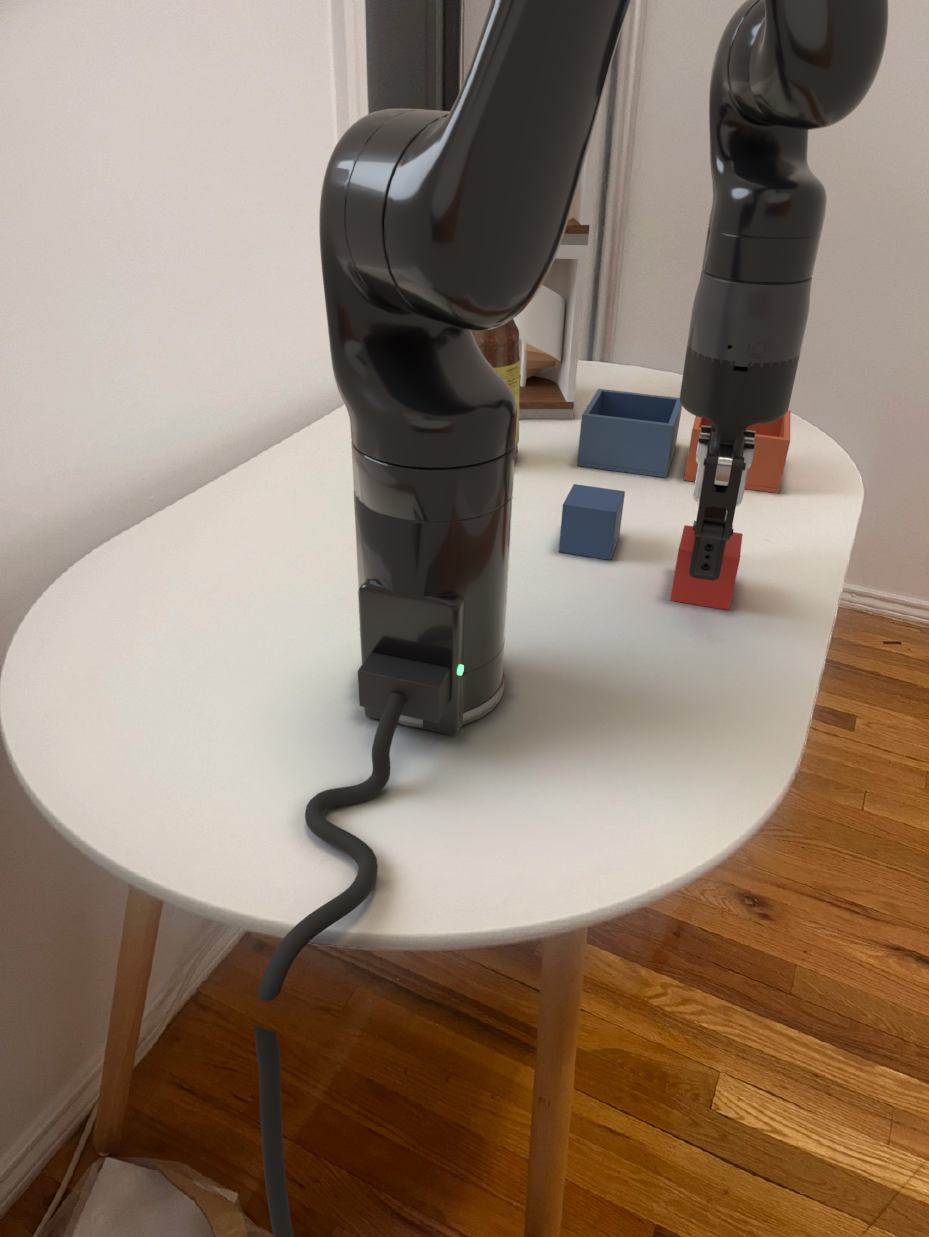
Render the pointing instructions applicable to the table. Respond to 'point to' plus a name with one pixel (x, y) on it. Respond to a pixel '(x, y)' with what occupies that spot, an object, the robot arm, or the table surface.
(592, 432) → the blue bin
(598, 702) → the table surface
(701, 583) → the red block
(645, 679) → the table surface
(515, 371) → the sauce bottle
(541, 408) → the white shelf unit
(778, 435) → the red bin
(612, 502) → the blue block
